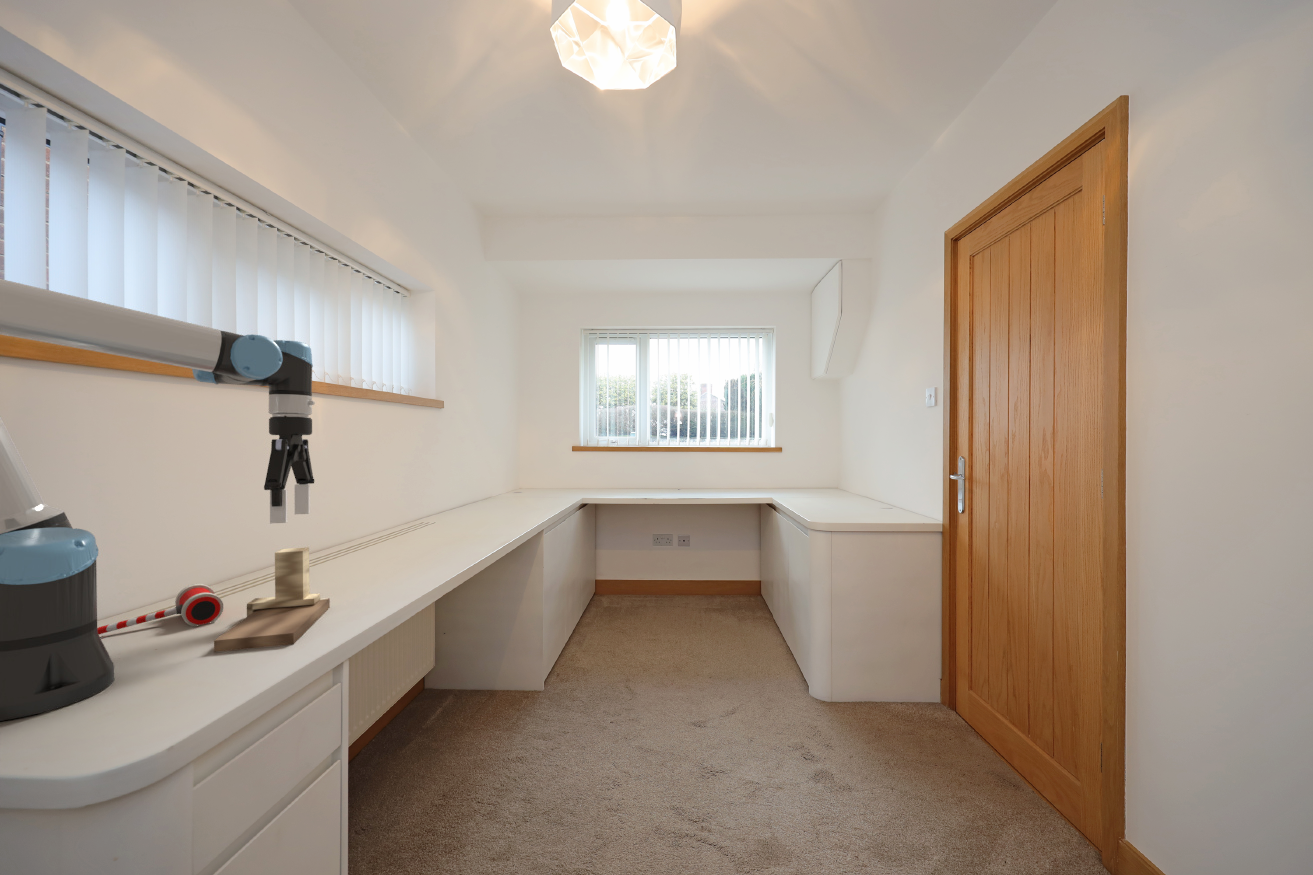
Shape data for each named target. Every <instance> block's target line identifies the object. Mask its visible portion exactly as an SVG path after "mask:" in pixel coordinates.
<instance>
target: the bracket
mask: <svg viewBox="0 0 1313 875" xmlns="http://www.w3.org/2000/svg"><path fill="white" fill-rule="evenodd" d="M310 586H311V585H310V547H309V546H307V547H306V546H305V547H293V548H292V547H291V548H281V549H279V550H277V551H276V552H274V593H275V596H271V597H270V596H269V597H268V596H267V597H258V598H253V599H252V600H251V601H249V602H247V603H246V617H247V616H249V615H250V614H252V613H253V612H254V611H256V610H257V609H265V608H277V607H289V606H301V605H313V604H315V603H316V602H318V601H319V600H320V599H321V593H320V592H319V593H311V592H310Z"/></svg>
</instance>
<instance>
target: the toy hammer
mask: <svg viewBox="0 0 1313 875" xmlns="http://www.w3.org/2000/svg"><path fill="white" fill-rule="evenodd" d="M174 602H175V603H174V604H175V607H172V608H169V609H168V608H167V609H164V610H159V611H155V612H151V613H149V614H144V615H140V616H137V617H133V618H129V619H125V620H121V621H118V622H113V623H109V624H107V625H103V626H97V631H98V634H99V635H103V634H106V633H109V632H114V631H116V630H118V631H119V630H120V629H121V630H122V629H124V628H128V627H133V626H136V625H140V624H143V623H148V622H151V621H154V620H159V619H162V618H166V617H167V618H168V617H170V616H173V615H174V616H175V615H181V617H182V620H183V621H184V622H185V623H186V624H187V625H189V626H191V627H198V626H203V625H208V624H211V623H210V622H213V623H214V622H216V621H218V619H219V618H220V617H221V616H222V614H223V612H224V602H223V600H222V599H221V597H219V596H218V595H217V594H215V592H214V590H213V588H211V587H210V586H209V585H207V584H204V583H195V584H191V585H188V586H185V587H184V588H183V589H181V590H180V591H179V592H178V593H177V595H176V597H175V601H174ZM207 623H208V624H207ZM197 625H198V626H197Z"/></svg>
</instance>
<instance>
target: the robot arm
mask: <svg viewBox="0 0 1313 875" xmlns="http://www.w3.org/2000/svg"><path fill="white" fill-rule="evenodd" d="M0 335H3V336H7V337H14V338H19V339H20V338H21V339H26V340H30V341H35V342H36V341H37V342H42V343H47V344H52V345H59V346H64V347H69V348H73V349H74V348H75V349H81V350H86V351H91V352H98V353H101V354H103V353H104V354H107V355H108V354H109V355H113V356H120V357H125V358H131V359H137V360H142V361H147V362H153V363H159V364H164V365H170V366H176V367H181V368H186V369H191V371H192V376H193V378H194V379H195V380H196V381H198V382H200V383H207V384H215V385H219V384H220V385H221V384H222V385H237V386H238V385H239V386H258V387H259V386H260V387H268V414H269V415H271V416H270V418H268V433H269V435H271V436H279V437H278V438H277V439H276V438H275V439H274V438H273V439H271V444H270V445H271V448H270V456H269V460H268V464H267V471H266V476H265V480H264V481H265V482H264V485H263V490H265V491H269V524H286V523H288V489H287V488H286V486H287V485H286V484H287V482H288V479H289V474H290V471H291V469H292V472H293V476H294V480H295V482H296V484H294V515H310V514H311V511H310V510H311V498H310V497H311V488H310V487H311V484H315V478H314V475H313V469H312V468H313V467H312V464H311V463H312V462H311V456H310V449H309V440H308V439H304V438H303V436H310V435H312V434H313V419H312V418H311V417H309V416H311V415H312V414H313V408H312V407H313V406H314V405H315V403H316V402H315V400H313V391H312V390H313V389H312V388H313V387H312V386H313V367H314V365H313V355H312V348H311V346H310V345H309V344H307V343H305V342H301V341H295V340H285V339H279V340H278V339H274V340H273V339H271V338H269V337H267V336H265V335H261V334H260V335H259V334H246V335H245V334H244V335H242V334H238V333H236V332H235V333H234V332H231V331H224V330H222V329H221V330H220V329H217V328H213V327H209V326H204V325H201V324H200V325H199V324H196V323H192V322H191V323H190V322H187V321H183V320H179V319H174V318H170V317H166V316H161V315H158V314H157V315H156V314H153V313H149V312H144V311H139V310H136V309H130V308H126V307H122V306H118V305H114V304H110V303H106V302H101V301H96V300H94V299H89V298H84V297H79V296H75V295H71V294H66V293H62V292H58V291H54V290H49V289H45V288H40V287H37V286H32V285H28V284H23V283H20V282H15V281H11V280H8V279H3V278H0ZM96 540H97V539H96V536H95V535H94V534H93V533H92V532H90V531H88V530H86V529H83V528H82V529H81V528H73V526H72V524H71V522H70V521H69V518H68V516H67V514H66V512H65V510H64V509H63V508H60V507H56V506H52V505H49V504H47V503H45V500H44V498H43V497H42V495H41V492H40V491H39V489H38V487H37V485H36V483H35V481H34V479H33V477H32V475H31V473H30V472H29V469H28V468H27V465H26V463H25V461H24V459H23V458H22V456H21V454H20V452H19V450H18V448H17V446H16V444H15V442H14V440H13V439H12V436H11V434H10V432H9V430H8V428H7V426H6V425H5V422H4V421H3V419H2V416H0V722H1V721H7V720H13V719H18V718H23V717H28V716H33V715H36V714H41V713H45V712H48V711H51V710H55V709H59V708H63V707H65V706H69V705H72V704H75V703H76V702H77V703H78V702H79V701H82V700H84V699H87V698H89V697H92V696H93V695H96V694H99V693H101V692H102V691H103V690H104V691H105V690H106V689H107V688H109V687H110V686H111V685H112V684H113V683H114V681H115V665H114V661H112V658H111V656H110V655H109V652H108V650H107V648H106V646H105V644H104V642H103V640H102V638H101V636H100V634H98V631H97V628H98V594H97V592H98V589H97V588H98V587H97V586H98V585H97V584H98V583H97V578H98V577H97V576H98V574H97V571H98V570H97V558H98V556H99V548H98V546H97V541H96Z"/></svg>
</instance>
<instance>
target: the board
mask: <svg viewBox="0 0 1313 875" xmlns="http://www.w3.org/2000/svg"><path fill="white" fill-rule="evenodd" d="M330 600H331V599H330V598H320V600H319V601H318V602H316V603H315V604H313V605H301V606H289V607H277V608H265V609H257V610H256V611H254V612H253V613H252V614H250V615H249V616H247V615H246V617H245V618H244V619H242V620H241V621H239V622H238V623H237V624H235V625H234V626H232V627H231V628H229V629H228V630H227V631H225V632H224V633H223V634H221V635H219V636H218V637H217V638H216V639H214V640H213V653H218V652H230V651H238V650H239V651H240V650H248V649H259V648H260V649H261V648H268V647H269V648H270V647H280V646H290V645H294V644H296V642H298V640H300V638H301V637H302V636H304V634H305V633H306V632H308V630H309V629H310V628H312V627H313V625H314V624H315V623H316V622H317V621H318V620H319V619H320V618H321V617H323V615H324V614H326V612H327V611H328V610H329V609H330V608H331V603H330V602H331V601H330Z"/></svg>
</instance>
